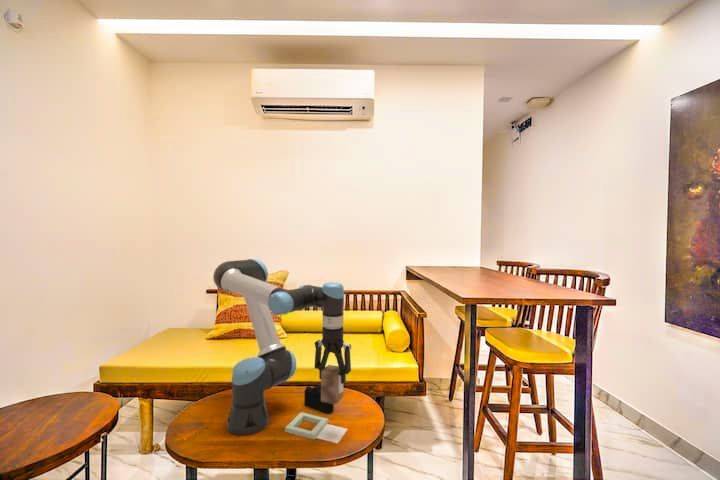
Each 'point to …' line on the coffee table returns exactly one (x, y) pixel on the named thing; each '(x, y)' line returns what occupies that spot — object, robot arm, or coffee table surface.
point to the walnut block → (330, 385)
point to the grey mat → (332, 433)
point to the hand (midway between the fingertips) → (332, 389)
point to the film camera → (316, 400)
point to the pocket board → (294, 429)
